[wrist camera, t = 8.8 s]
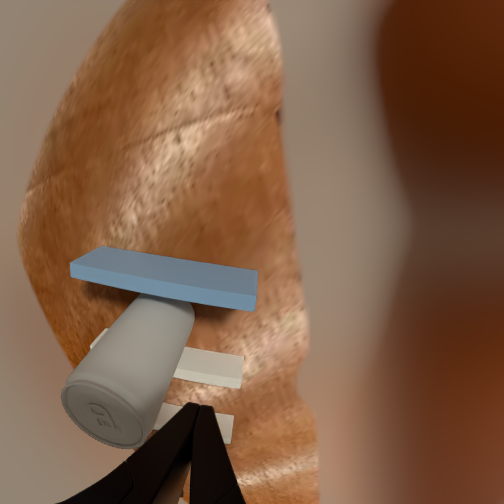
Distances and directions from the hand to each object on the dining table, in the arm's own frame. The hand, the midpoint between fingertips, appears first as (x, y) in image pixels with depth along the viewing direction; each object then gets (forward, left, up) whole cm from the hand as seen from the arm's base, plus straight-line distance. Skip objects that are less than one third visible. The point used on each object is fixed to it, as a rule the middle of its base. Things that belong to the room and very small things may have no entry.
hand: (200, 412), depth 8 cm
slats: (-7, +5, -13) cm, 16 cm away
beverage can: (-4, +5, -13) cm, 15 cm away
